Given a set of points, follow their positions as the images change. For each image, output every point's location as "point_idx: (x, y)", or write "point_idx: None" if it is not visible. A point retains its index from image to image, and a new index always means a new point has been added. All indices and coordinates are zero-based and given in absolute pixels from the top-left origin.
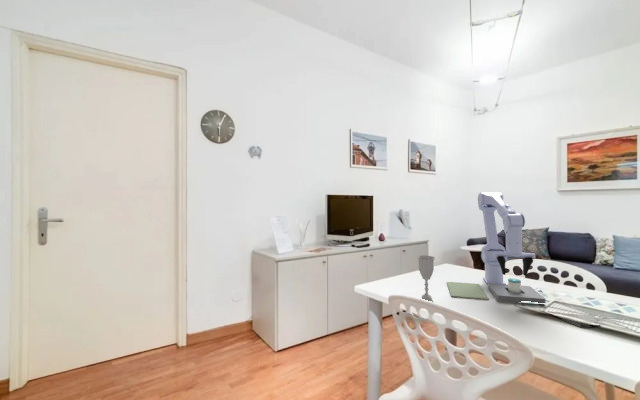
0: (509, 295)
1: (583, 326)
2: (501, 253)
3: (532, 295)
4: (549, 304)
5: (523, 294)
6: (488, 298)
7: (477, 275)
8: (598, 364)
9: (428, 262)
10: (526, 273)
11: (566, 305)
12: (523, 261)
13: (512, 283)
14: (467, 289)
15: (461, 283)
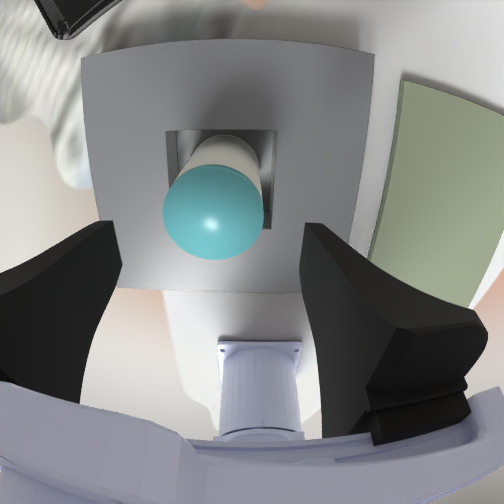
0: (294, 58)
1: None
2: (461, 476)
3: (132, 100)
4: (77, 86)
5: (184, 105)
6: (406, 81)
7: None
8: None
9: None
10: (88, 227)
11: (20, 107)
12: (67, 378)
13: (241, 170)
14: (447, 226)
15: None
